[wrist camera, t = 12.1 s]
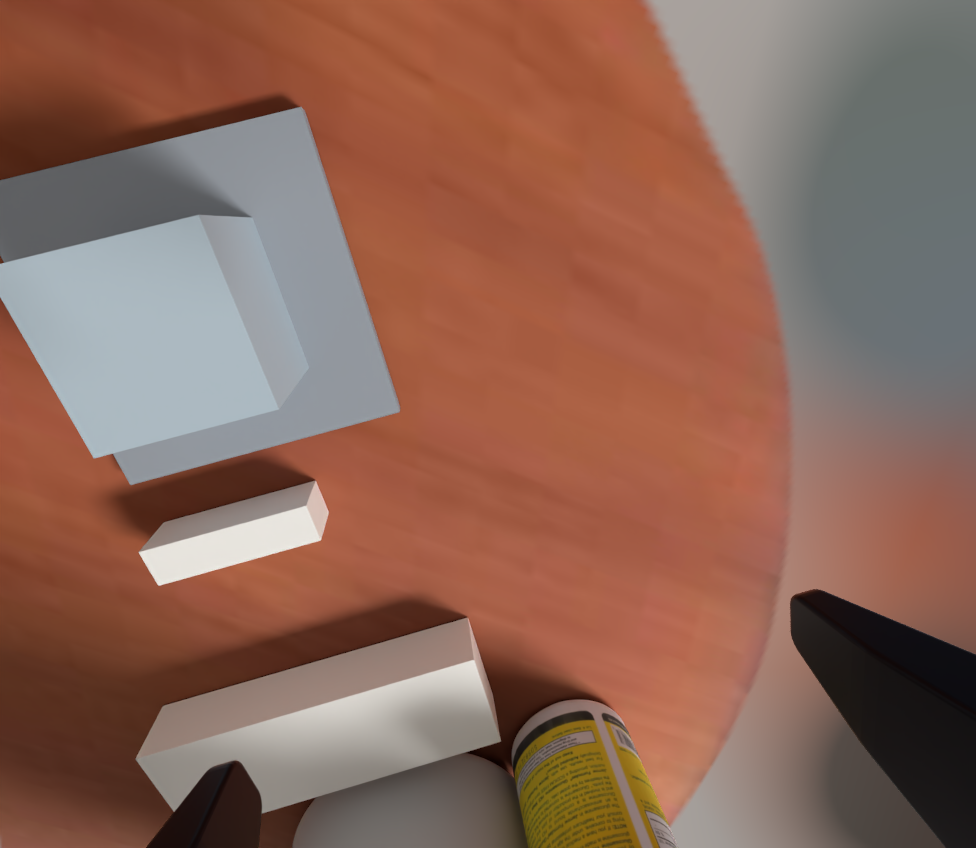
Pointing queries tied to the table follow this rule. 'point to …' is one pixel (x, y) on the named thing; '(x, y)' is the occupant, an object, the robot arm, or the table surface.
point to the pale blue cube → (158, 330)
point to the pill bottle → (584, 782)
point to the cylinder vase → (420, 810)
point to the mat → (286, 240)
